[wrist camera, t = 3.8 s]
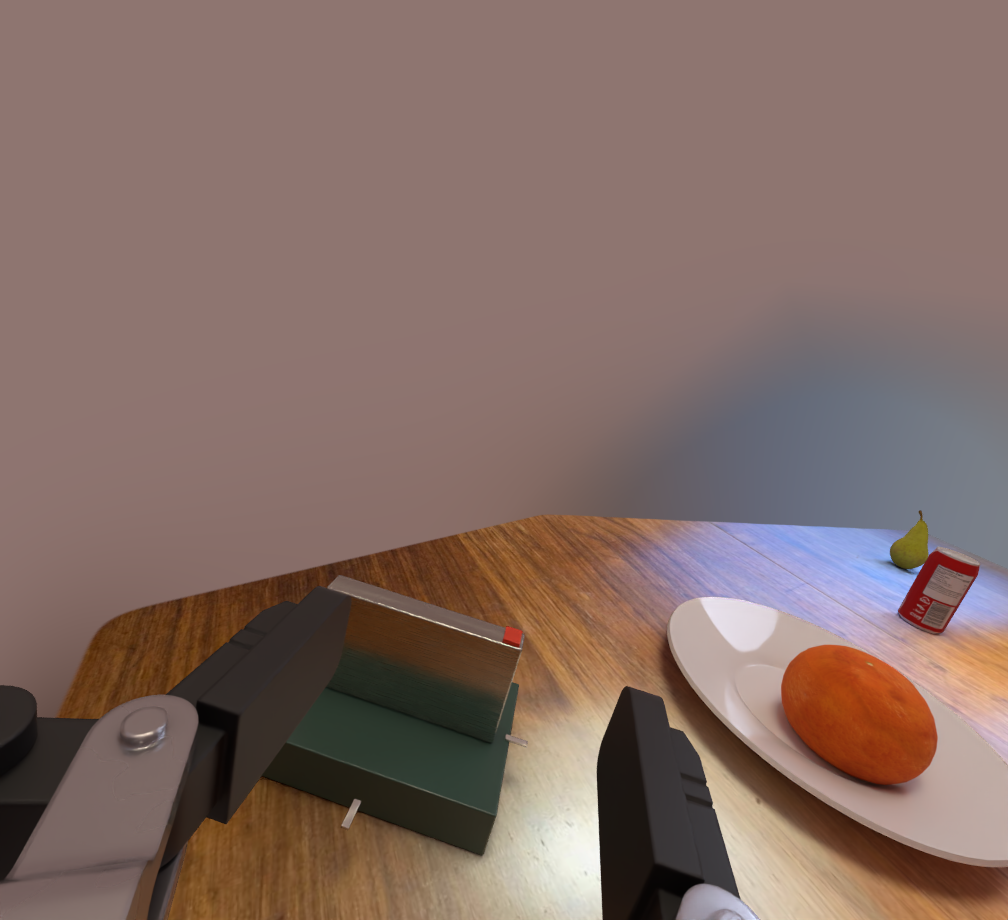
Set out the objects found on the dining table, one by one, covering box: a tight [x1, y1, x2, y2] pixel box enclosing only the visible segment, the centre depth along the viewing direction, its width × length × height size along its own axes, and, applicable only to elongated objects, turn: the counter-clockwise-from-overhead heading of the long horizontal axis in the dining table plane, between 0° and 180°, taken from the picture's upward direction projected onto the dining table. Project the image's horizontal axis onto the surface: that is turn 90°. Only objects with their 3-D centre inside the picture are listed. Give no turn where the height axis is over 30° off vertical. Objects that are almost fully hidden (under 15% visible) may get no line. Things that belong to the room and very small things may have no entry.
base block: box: [262, 682, 528, 855], centre depth 31 cm, size 16×16×3 cm
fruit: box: [890, 511, 928, 569], centre depth 96 cm, size 6×6×12 cm
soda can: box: [898, 547, 980, 634], centre depth 70 cm, size 6×6×12 cm
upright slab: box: [326, 575, 524, 743], centre depth 29 cm, size 12×2×7 cm, turn 81°
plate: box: [667, 597, 1008, 867], centre depth 43 cm, size 28×28×9 cm
